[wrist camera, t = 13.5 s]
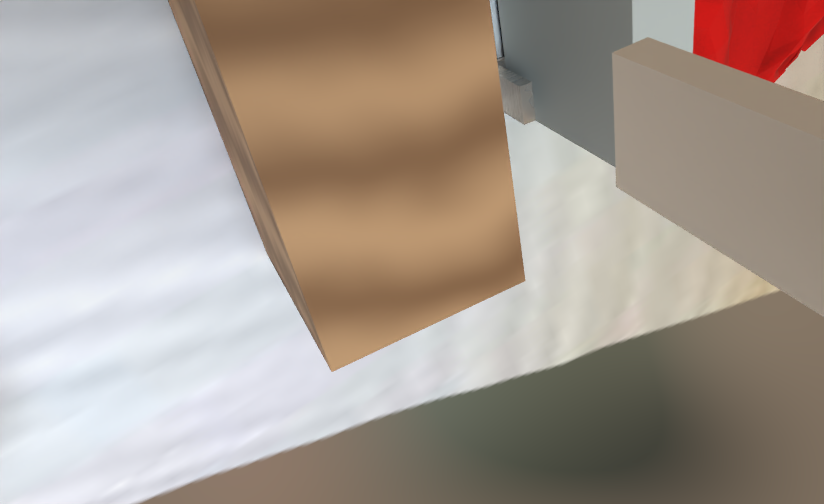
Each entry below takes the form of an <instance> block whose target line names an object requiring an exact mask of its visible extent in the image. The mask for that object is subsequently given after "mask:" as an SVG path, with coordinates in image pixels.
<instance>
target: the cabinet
mask: <svg viewBox="0 0 824 504" xmlns="http://www.w3.org/2000/svg"><path fill="white" fill-rule="evenodd" d="M168 2H169V4H170V7H171V9H172V12H173V15H174V17H175V20H176V22H177V25H178V27H179V30H180V32H181V35H182V38H183V40H184V43H185V45H186V48H187V50H188V53H189V55H190V58H191V60H192V63H193V66H194V68H195V71H196V73H197V76H198V78H199V81H200V83H201V86H202V89H203V91H204V94H205V96H206V99H207V101H208V104H209V106H210V109H211V112H212V114H213V117H214V119H215V122H216V124H217V127H218V129H219V132H220V134H221V137H222V140H223V142H224V145H225V147H226V150H227V152H228V155H229V157H230V160H231V163H232V165H233V168H234V170H235V173H236V175H237V178H238V180H239V183H240V186H241V188H242V191H243V193H244V196H245V198H246V201H247V203H248V206H249V209H250V211H251V214H252V216H253V219H254V221H255V224H256V226H257V229H258V231H259V234H260V237H261V239H262V242H263V244H264V247H265V249H266V252H267V254H268V256H269V258H270V260H271V262H272V264H273V265H274V267H275V269H276V271H277V273H278V275H279V276H280V278H281V280H282V282H283V284H284V286H285V287H286V289H287V291H288V293H289V295H290V297H291V298H292V300H293V302H294V304H295V306H296V307H297V309H298V311H299V313H300V315H301V317H302V318H303V320H304V322H305V324H306V326H307V328H308V329H309V331H310V333H311V335H312V337H313V339H314V340H315V342H316V344H317V346H318V348H319V349H320V351H321V353H322V355H323V357H324V359H325V360H326V362H327V364H328V366H329V368H330V370H331V371H332V372H333V371H335V370H337V369H339V368H341V367H344V366H346V365H348V364H350V363H352V362H354V361H356V360H358V359H361V358H363V357H365V356H367V355H369V354H371V353H373V352H375V351H378V350H380V349H382V348H384V347H386V346H388V345H390V344H392V343H394V342H397V341H399V340H401V339H403V338H405V337H407V336H409V335H411V334H414V333H416V332H418V331H420V330H422V329H424V328H426V327H428V326H431V325H433V324H435V323H437V322H439V321H441V320H443V319H445V318H448V317H450V316H452V315H454V314H456V313H458V312H460V311H462V310H465V309H467V308H469V307H471V306H473V305H475V304H477V303H479V302H481V301H484V300H486V299H488V298H490V297H492V296H494V295H496V294H498V293H501V292H503V291H505V290H507V289H509V288H511V287H513V286H515V285H518V284H520V283H522V282H524V281H525V275H524V267H523V259H522V251H521V244H520V236H519V228H518V220H517V212H516V204H515V197H514V189H513V181H512V173H511V165H510V157H509V150H508V142H507V134H506V126H505V118H504V111H503V103H502V95H501V87H500V79H499V71H498V64H497V56H496V48H495V40H494V32H493V24H492V17H491V9H490V1H489V0H168Z"/></svg>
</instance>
